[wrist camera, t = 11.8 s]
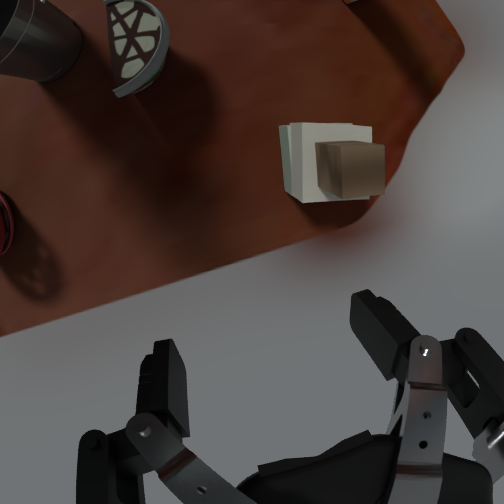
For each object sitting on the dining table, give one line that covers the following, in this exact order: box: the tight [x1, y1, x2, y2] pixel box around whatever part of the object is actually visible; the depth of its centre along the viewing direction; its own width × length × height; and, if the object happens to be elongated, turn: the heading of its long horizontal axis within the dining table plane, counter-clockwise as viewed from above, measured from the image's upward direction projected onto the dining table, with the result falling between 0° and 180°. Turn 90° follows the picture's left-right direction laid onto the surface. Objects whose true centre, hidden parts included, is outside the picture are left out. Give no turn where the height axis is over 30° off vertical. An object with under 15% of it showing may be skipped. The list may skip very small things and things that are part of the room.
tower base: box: [279, 123, 353, 197], centre depth 35 cm, size 9×9×4 cm
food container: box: [103, 0, 170, 98], centre depth 22 cm, size 12×6×10 cm, turn 9°
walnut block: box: [315, 140, 385, 199], centre depth 27 cm, size 5×5×6 cm
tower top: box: [290, 123, 372, 203], centre depth 31 cm, size 9×9×4 cm
